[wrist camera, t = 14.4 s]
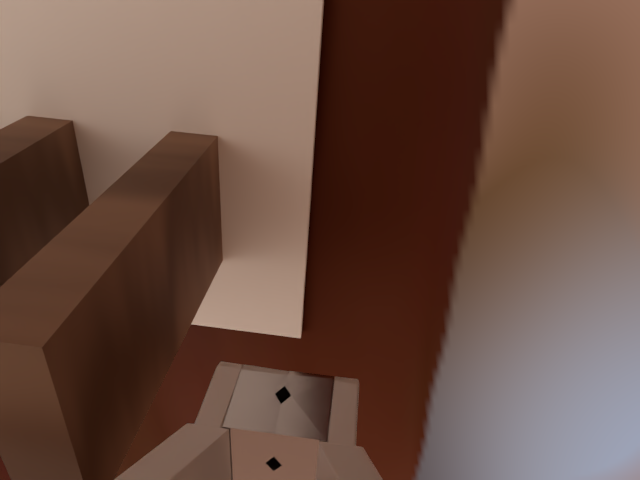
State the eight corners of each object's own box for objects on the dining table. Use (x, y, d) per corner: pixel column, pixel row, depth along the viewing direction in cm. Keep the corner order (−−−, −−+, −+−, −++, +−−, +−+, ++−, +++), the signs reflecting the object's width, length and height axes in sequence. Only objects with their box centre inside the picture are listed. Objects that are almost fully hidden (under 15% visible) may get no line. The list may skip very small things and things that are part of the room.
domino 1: (170, 130, 17) (-52, 334, 8) (217, 136, 16) (41, 347, 8) (182, 255, 19) (23, 507, 11) (222, 260, 19) (94, 517, 11)
